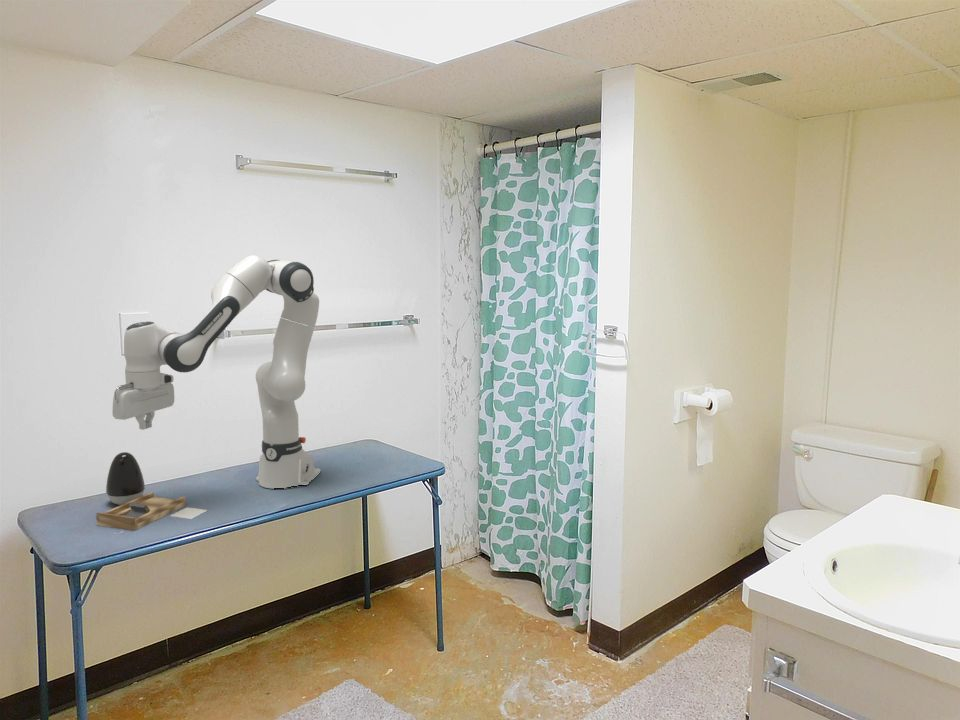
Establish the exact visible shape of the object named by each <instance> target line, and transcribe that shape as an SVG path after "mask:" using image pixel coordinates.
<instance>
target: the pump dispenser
mask: <svg viewBox="0 0 960 720" xmlns="http://www.w3.org/2000/svg"><path fill="white" fill-rule="evenodd" d="M145 486H146V484H145V480H144V475H143V472H142V470H141V467H140V464H139V462H138V460H137V459H136V457H135V456H134V454H131V453H130V452H128V451H127V452H126V451H125V452H123V451H122V452H119V453H117V454H116V455H115V457H114V458H113V459H112V462H111V464H110V467H109V470H108V474H107V478H106V487H105V493H106V496H108V499H109V500H110V502H112V503H113V504H114V505H118V506H120V505H123V504H125V503H127V502H130V501H132V500H134V499H136V498H139V497H141V496H143V495H144V491H145V489H146V487H145Z"/></svg>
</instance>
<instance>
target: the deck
mask: <svg viewBox="0 0 960 720" xmlns="http://www.w3.org/2000/svg"><path fill="white" fill-rule="evenodd" d="M186 499H187V498H186V496H185V495H184V496H182V495H181V497H178V498H168V497H162V496H160V497H159V496H155V493H154V491H153V492H152V491H150V492H148V493H145V494H143V495H142V496H141V497H139V498H136V499H134V500H132V501H130V502H127V503H125V504H123V505H118V506H116V507H114V508H112V509H108V510H107V511H105V512H96V513H95V514H96V516H95V517H96V525H97V526H101V527H108V528H113V529H114V528H115V529H122V530H128V531H136V530H138V529H140V528H143V527H145V526H148V525H149V524H150V523H153V522H155V521H156V520H160V519H161V518H162V517H165V516H166V515H169V514H172V513H173V512H175V511H177V510H179V509H181V508H183V507H185V506H186V505H187V503H186V502H187V501H186ZM130 503H138V504H145V505H147V507H148V508H149V509H150V511H149V512H148V513H146V514H144V515H142V516H140V517H138V518H136V519H135V518H133V517H126V516H122V515H127V514H128V513H129V511H130V510H131V508H130V506H129V505H130Z"/></svg>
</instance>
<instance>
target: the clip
mask: <svg viewBox="0 0 960 720" xmlns="http://www.w3.org/2000/svg"><path fill="white" fill-rule="evenodd" d="M129 506H130V508H131V510H130V511H129V513H128V514H127V515H122V516H126V517H133V518H135V519H136V518H138V517H140V516H142V515H144V514H146V513H148V512H149V511H150V509H149V508H148V507H147V505H145V504H138V503H130V505H129Z"/></svg>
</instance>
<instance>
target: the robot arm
mask: <svg viewBox="0 0 960 720" xmlns="http://www.w3.org/2000/svg"><path fill="white" fill-rule="evenodd" d="M314 282H315V281H314V274H313V272H312V270H311V269H310V268H309V267H308V266H307V265H306V264H304V263H302V262H300V261H294V260H290V259H281V260H280V259H272V260H268V261H267V260H266V259H265V258H264V257H262V256H259V255H257V254H256V255H255V254H252V255H248V256H246V257H245V258H243V259H241V260H240V261H238V262H237V263H236V264H234V265H233V266H232V267H231V268H230V269H228V270H227V271H226V272H225V273H224V274H223V275H222V276H221V277H220V278H219V279H218V280H217V282H215V284H214V286H213V287H212V288H211V291H210V292H211V294H210V295H211V296H210V297H211V307H210V309H209V310H208V311H207V313H206V314H205V315H204V316H203V317H202V318H201V320H200V321H198V323H197V324H196V325H195V326H194V327H193V328H192V329H191V330H190V331H189V332H186V333H184V334H183V333H181V332H177V331H173V330H169V329H167V328H164V327H163V326H160V325H159V324H156V323H155V322H154V321H140V322H136V323H133V324H130V325H129V326H127V327H126V329H125V331H124V338H123V354H124V358H125V368H124V375H125V384H121V385H118V386H117V388H116V389H115V390H114V392H113V393H114V394H113V398H112V416H113V418H114V419H115V420H122V421H123V420H124V421H126V420H129V419H132V418H135V420H136V421H137V423H138V428H139V430H147V429H151V428H152V427H153V426H152V425H153V423H152V422H153V420H154V417H155V414H156V413H155V412H156V411H160V410H164V409H167V408H171V407H172V406H174V404H175V387H174V384H173V382H174V375H172V374H168V373H165V372H161V366H162V365H163V366H164V365H165V366H166V365H167V366H168V367H169V368H170V369H172V370H173V371H176V372H178V373H190V372H193V371H195V370H196V369H198V368H199V367H200V366H201V364H203V361H204V360H205V357H206V355H207V352H208V350H209V349H210V346H211V345H212V344H213V343H215V341H216V340H217V338H219V336H220V335H221V334H222V333H223V331H225V329H226V328H227V327H228V326H229V325H230V324H231V323H232V321H233V320H234V319H235V318H236V317H237V316H238V315H239V314H240V313H241V312H242V311H243V310H244V309H245V308H247V307H248V306H249V305H250V304H251V303H252V302H253V301H254V300H255V299H256V298H257V297H258V296H259V295H260V293H263V291H265V290H266V291H268V293H269V292H270V293H273V294H277V295H279V296H281V297H283V310H282V311H281V314H280V318H279V321H278V324H277V327H276V332H275V334H274V338H273V342H272V344H273V351H272V358H271V359H272V360H271V361H268V362H264V363H263V364H261V365H260V366H259V367H257V368H258V369H257V370H256V371H255V372H256V373H255V381H256V384H257V393H258V398H259V404H260V409H261V417H262V440H261V455H260V456H259V462H258V463H259V464H258V475H257V476H256V477H255V481H257V482H258V485H259V486H261V487H262V488H266V489H274V488H284V489H287V488H286V487H291V486H295V485H302V484H307V483H309V482H310V481H311V480H312V479H313V478H314V477H315V476H316V475H317V474H318V473H319V472H320V470H321V469H320V468H319V467H315V466H314V465H315V464H314V458H313V456H312V455H311V454H310V453H309V452H307V451H305V450H304V449H303V446H302V444H305V443H306V441H307V438H306V437H305V436H302V437H301V436H300V435H299V431H300V430H299V413H298V411H297V408H296V403H295V401H297V400H298V399H300V398H302V397H301V396H302V395H304V393H305V391H306V380H305V376H306V367H307V358H308V352H309V347H310V344H311V340H312V338H313V335H314V334H313V333H314V331H315V328H316V323H317V321H318V315H319V308H320V299H319V296H318V295H317V293H315V292H314V291H315V287H314ZM314 468H317V469H314ZM291 488H292V487H291Z"/></svg>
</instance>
